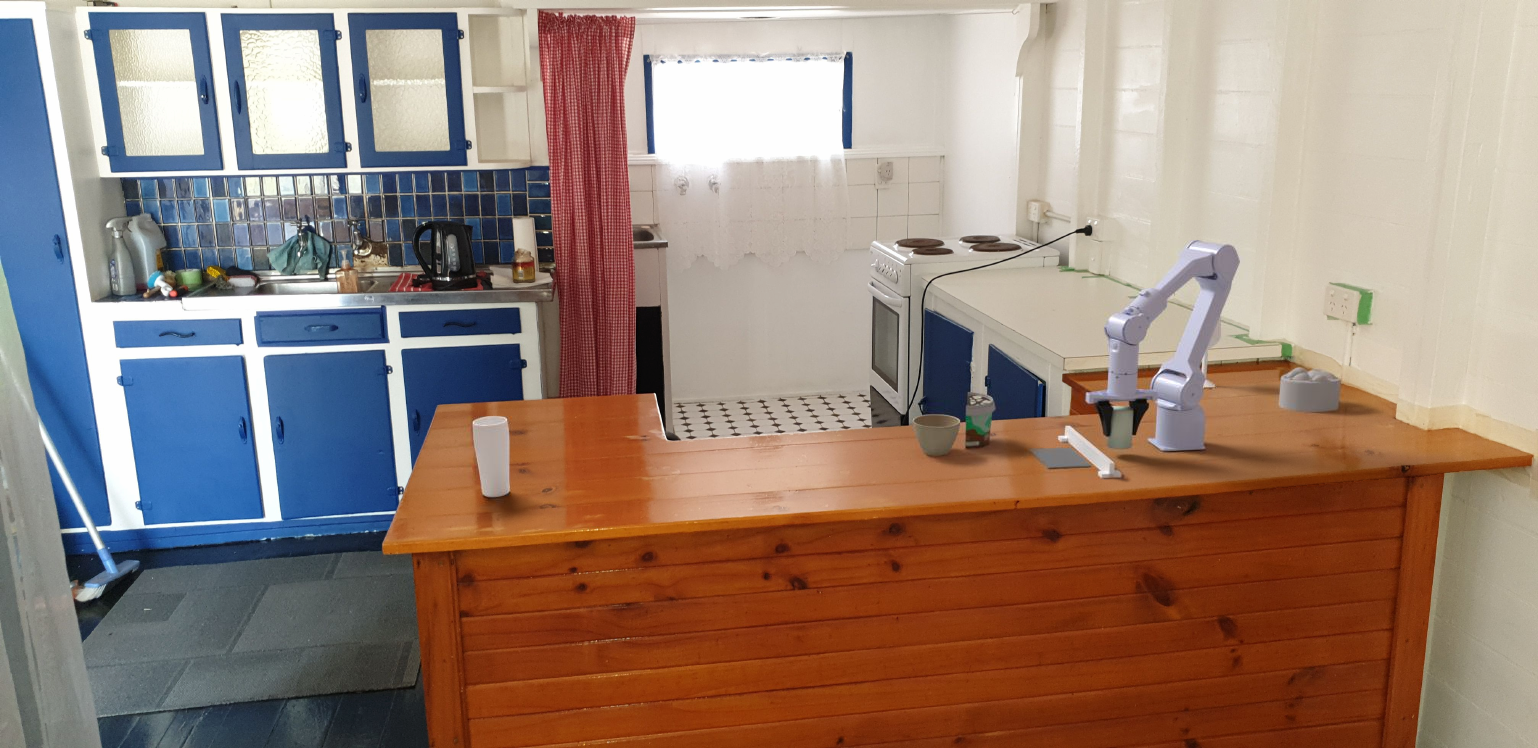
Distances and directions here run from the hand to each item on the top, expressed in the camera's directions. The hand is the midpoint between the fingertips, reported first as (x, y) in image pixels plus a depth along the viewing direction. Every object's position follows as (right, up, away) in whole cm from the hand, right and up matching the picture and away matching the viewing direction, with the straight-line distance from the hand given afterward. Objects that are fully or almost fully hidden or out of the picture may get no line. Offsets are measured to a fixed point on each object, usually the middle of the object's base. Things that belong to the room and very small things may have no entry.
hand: (1119, 434), depth 234 cm
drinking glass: (-127, -11, -13) cm, 128 cm away
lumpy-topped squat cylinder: (+55, +5, +35) cm, 65 cm away
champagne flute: (+39, +9, +55) cm, 68 cm away
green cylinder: (0, -2, +1) cm, 2 cm away
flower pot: (-37, -4, +6) cm, 38 cm away
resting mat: (-12, -5, 0) cm, 13 cm away
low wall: (-6, -5, +1) cm, 8 cm away
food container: (-27, -3, +12) cm, 30 cm away
